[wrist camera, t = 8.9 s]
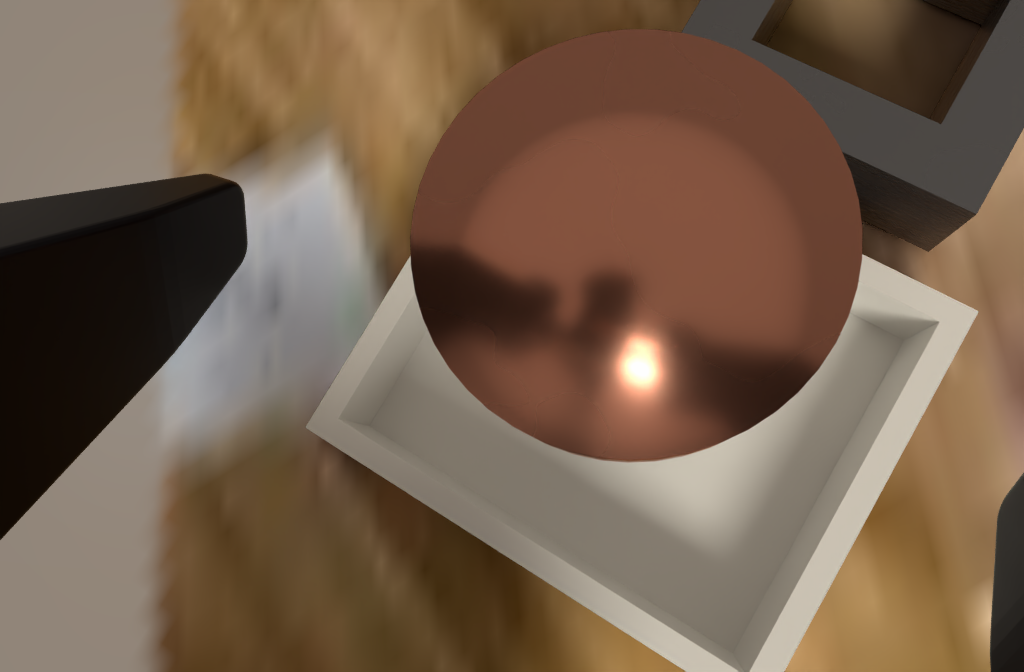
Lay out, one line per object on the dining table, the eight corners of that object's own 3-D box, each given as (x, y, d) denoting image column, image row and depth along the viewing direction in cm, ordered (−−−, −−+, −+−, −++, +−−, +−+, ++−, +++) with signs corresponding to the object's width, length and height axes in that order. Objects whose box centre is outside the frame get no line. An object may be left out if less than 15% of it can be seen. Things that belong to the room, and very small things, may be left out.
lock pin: (676, 506, 20) (762, 537, 8) (510, 433, 21) (339, 353, 8) (743, 339, 21) (929, 109, 8) (578, 275, 22) (513, -22, 9)
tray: (739, 683, 20) (758, 717, 17) (347, 435, 22) (305, 427, 20) (929, 336, 21) (978, 311, 18) (530, 134, 23) (515, 83, 20)
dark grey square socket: (928, 251, 21) (977, 214, 18) (656, 120, 23) (660, 66, 20) (1067, -1, 22) (1135, -76, 19) (792, -109, 23) (816, -194, 21)
